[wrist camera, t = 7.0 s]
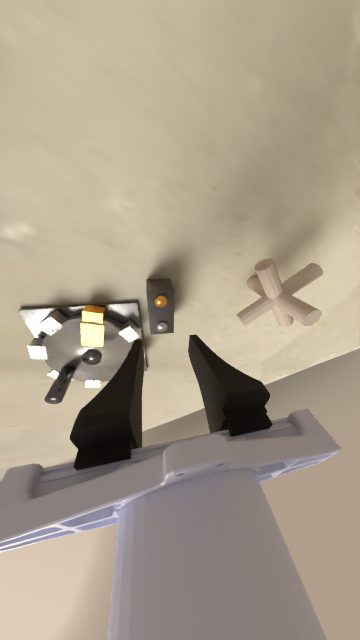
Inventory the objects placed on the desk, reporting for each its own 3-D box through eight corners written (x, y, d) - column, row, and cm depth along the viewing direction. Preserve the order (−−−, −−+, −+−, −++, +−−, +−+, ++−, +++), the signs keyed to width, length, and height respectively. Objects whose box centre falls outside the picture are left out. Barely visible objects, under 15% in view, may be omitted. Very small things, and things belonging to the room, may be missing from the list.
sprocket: (8, 341, 20) (-38, 382, 15) (96, 284, 18) (77, 309, 13) (95, 389, 28) (84, 426, 23) (162, 353, 26) (166, 384, 21)
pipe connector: (237, 321, 27) (277, 367, 18) (208, 279, 21) (247, 317, 13) (291, 285, 24) (364, 319, 16) (274, 227, 19) (370, 234, 11)
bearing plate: (20, 308, 19) (17, 310, 18) (137, 301, 21) (137, 303, 21) (65, 379, 27) (63, 381, 26) (147, 368, 29) (147, 370, 28)
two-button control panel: (146, 279, 20) (146, 292, 16) (169, 278, 20) (174, 291, 17) (150, 318, 23) (150, 336, 20) (169, 316, 24) (173, 334, 20)
